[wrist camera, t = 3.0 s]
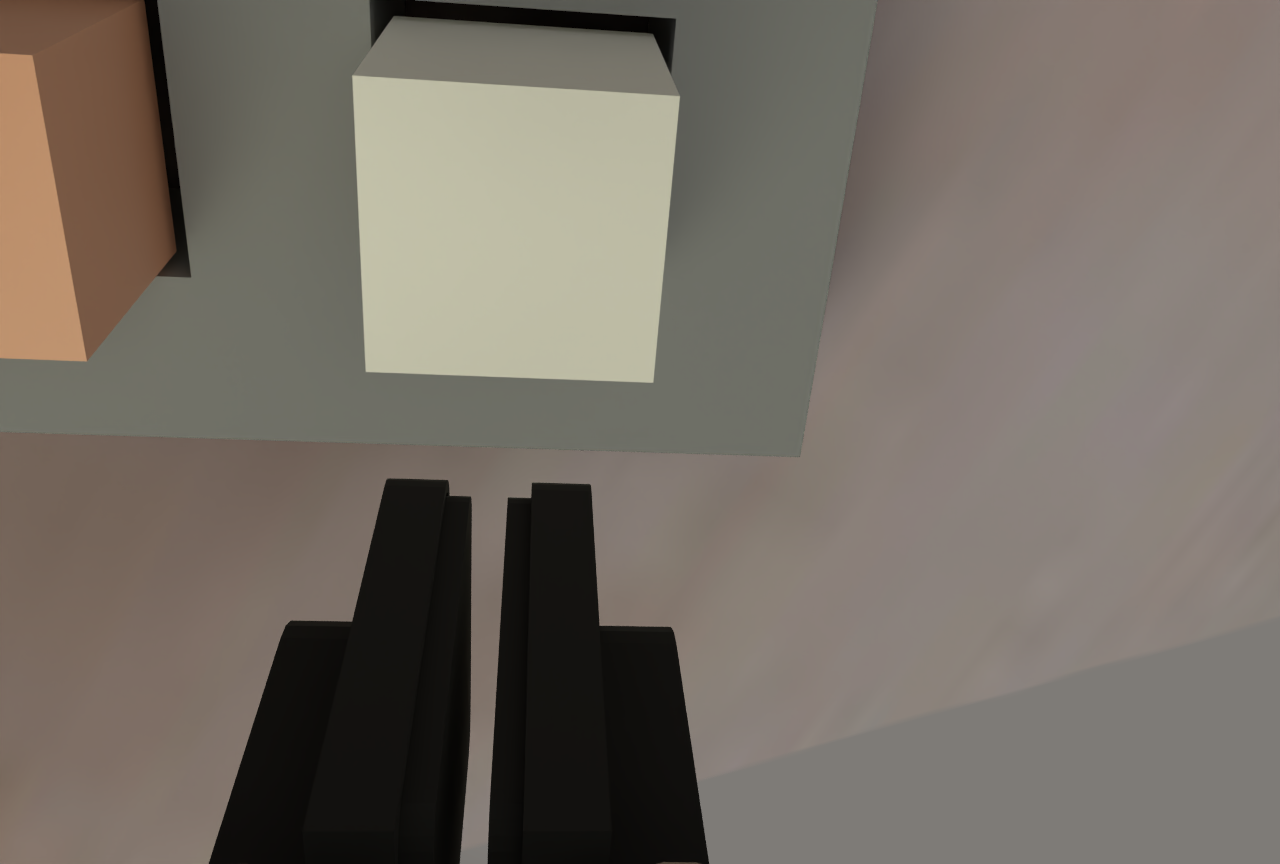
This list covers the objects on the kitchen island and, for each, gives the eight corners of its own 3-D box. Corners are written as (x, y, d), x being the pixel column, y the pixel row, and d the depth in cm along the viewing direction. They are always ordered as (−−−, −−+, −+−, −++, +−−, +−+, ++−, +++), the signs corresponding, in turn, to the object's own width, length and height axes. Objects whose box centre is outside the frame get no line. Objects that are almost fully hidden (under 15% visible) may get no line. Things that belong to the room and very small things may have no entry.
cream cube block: (394, 15, 23) (352, 75, 18) (652, 33, 23) (680, 96, 18) (400, 261, 25) (365, 371, 20) (633, 273, 26) (653, 383, 21)
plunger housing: (-277, -297, 24) (-510, -322, 19) (838, -196, 26) (910, -193, 21) (-114, 316, 31) (-249, 424, 25) (760, 352, 33) (800, 457, 28)
